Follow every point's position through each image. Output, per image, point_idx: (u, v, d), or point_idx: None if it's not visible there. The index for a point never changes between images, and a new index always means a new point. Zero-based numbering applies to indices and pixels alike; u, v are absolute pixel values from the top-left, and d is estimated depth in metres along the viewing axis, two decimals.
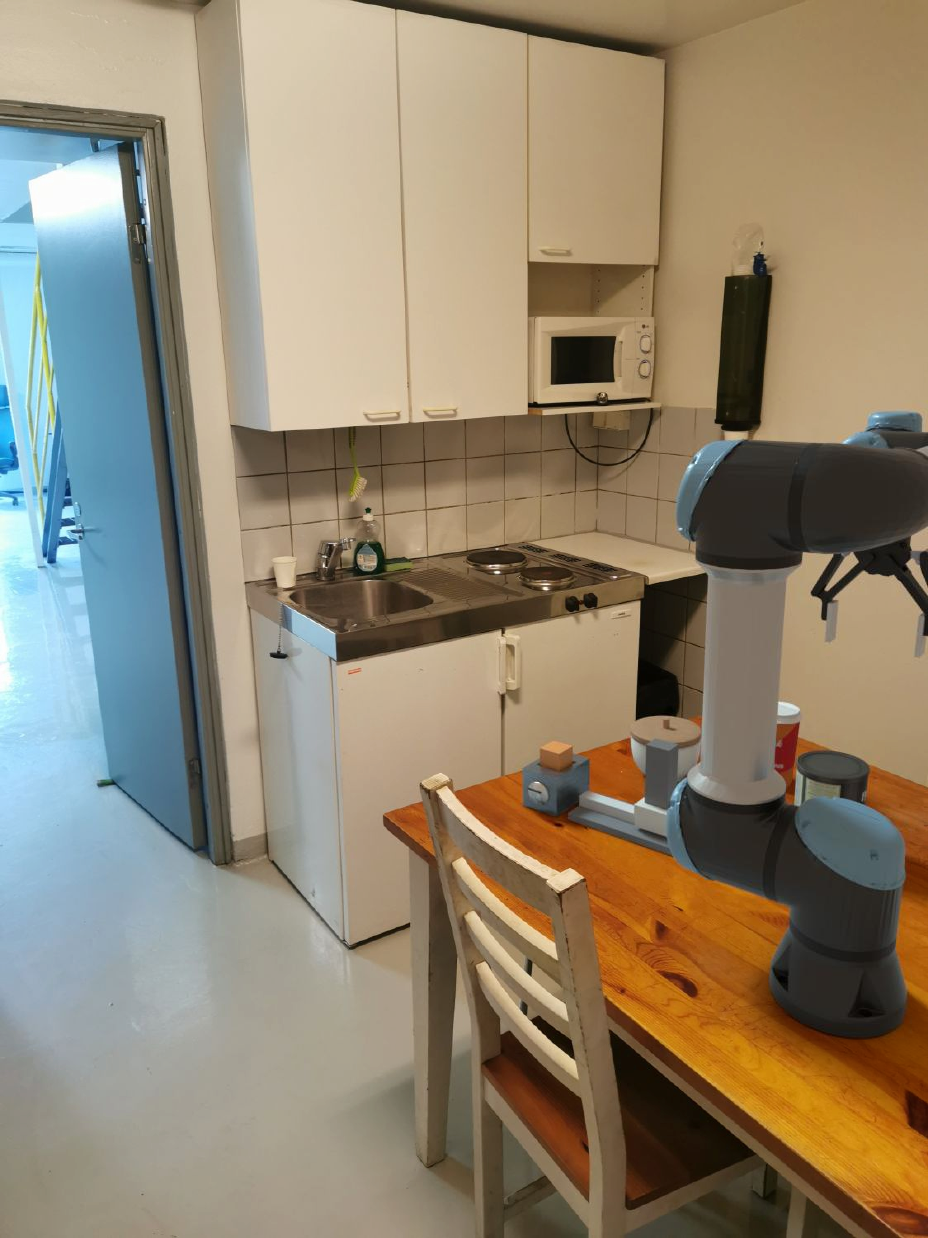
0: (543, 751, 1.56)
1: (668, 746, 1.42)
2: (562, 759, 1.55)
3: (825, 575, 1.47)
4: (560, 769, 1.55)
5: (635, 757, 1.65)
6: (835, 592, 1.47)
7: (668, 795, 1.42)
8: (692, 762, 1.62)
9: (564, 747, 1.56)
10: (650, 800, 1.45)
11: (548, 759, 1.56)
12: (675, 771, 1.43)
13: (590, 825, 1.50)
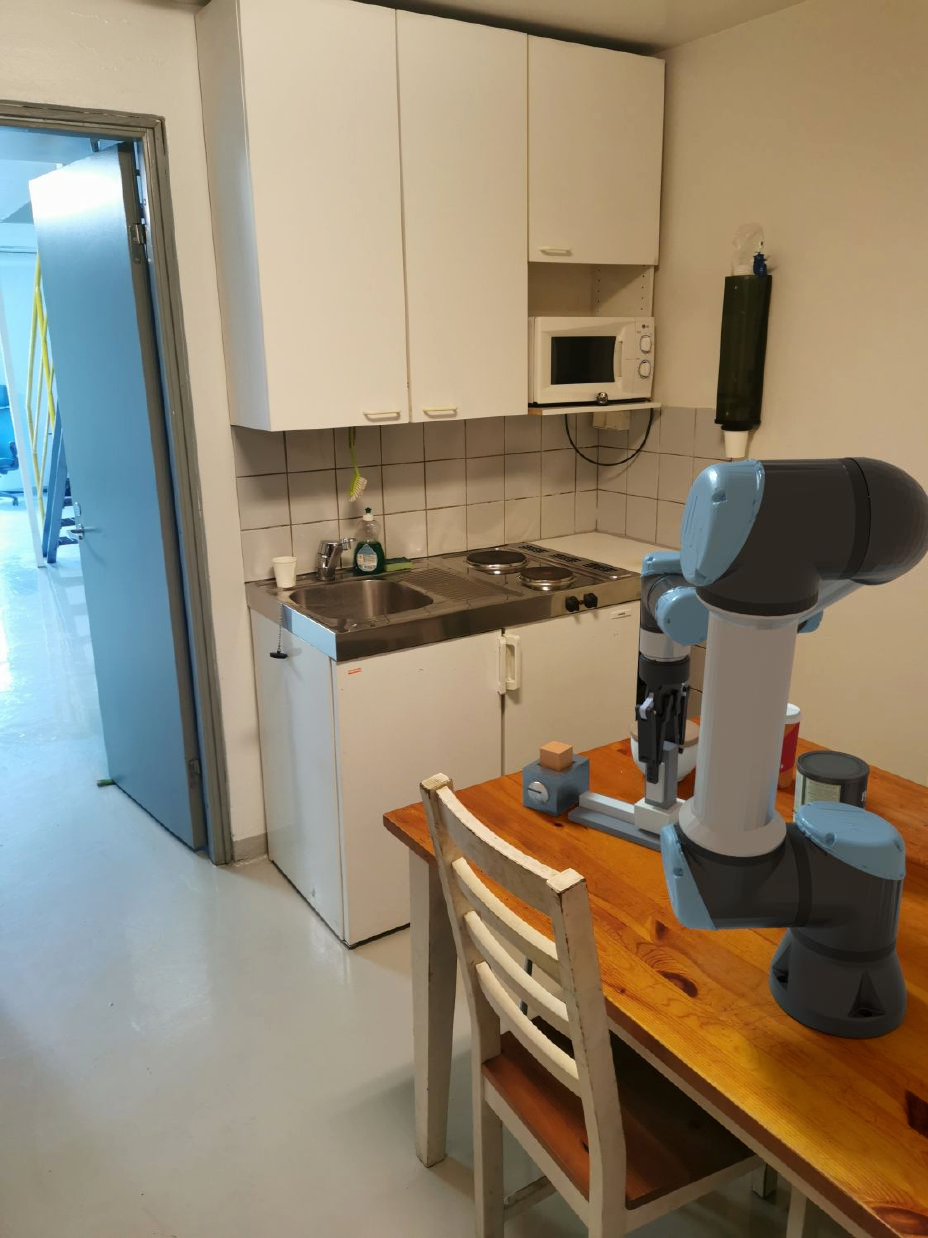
0: (543, 751, 1.56)
1: (668, 746, 1.42)
2: (562, 759, 1.55)
3: None
4: (560, 769, 1.55)
5: (635, 757, 1.65)
6: None
7: (668, 795, 1.42)
8: (692, 762, 1.62)
9: (564, 747, 1.56)
10: (650, 800, 1.45)
11: (548, 759, 1.56)
12: (675, 771, 1.43)
13: (590, 825, 1.50)
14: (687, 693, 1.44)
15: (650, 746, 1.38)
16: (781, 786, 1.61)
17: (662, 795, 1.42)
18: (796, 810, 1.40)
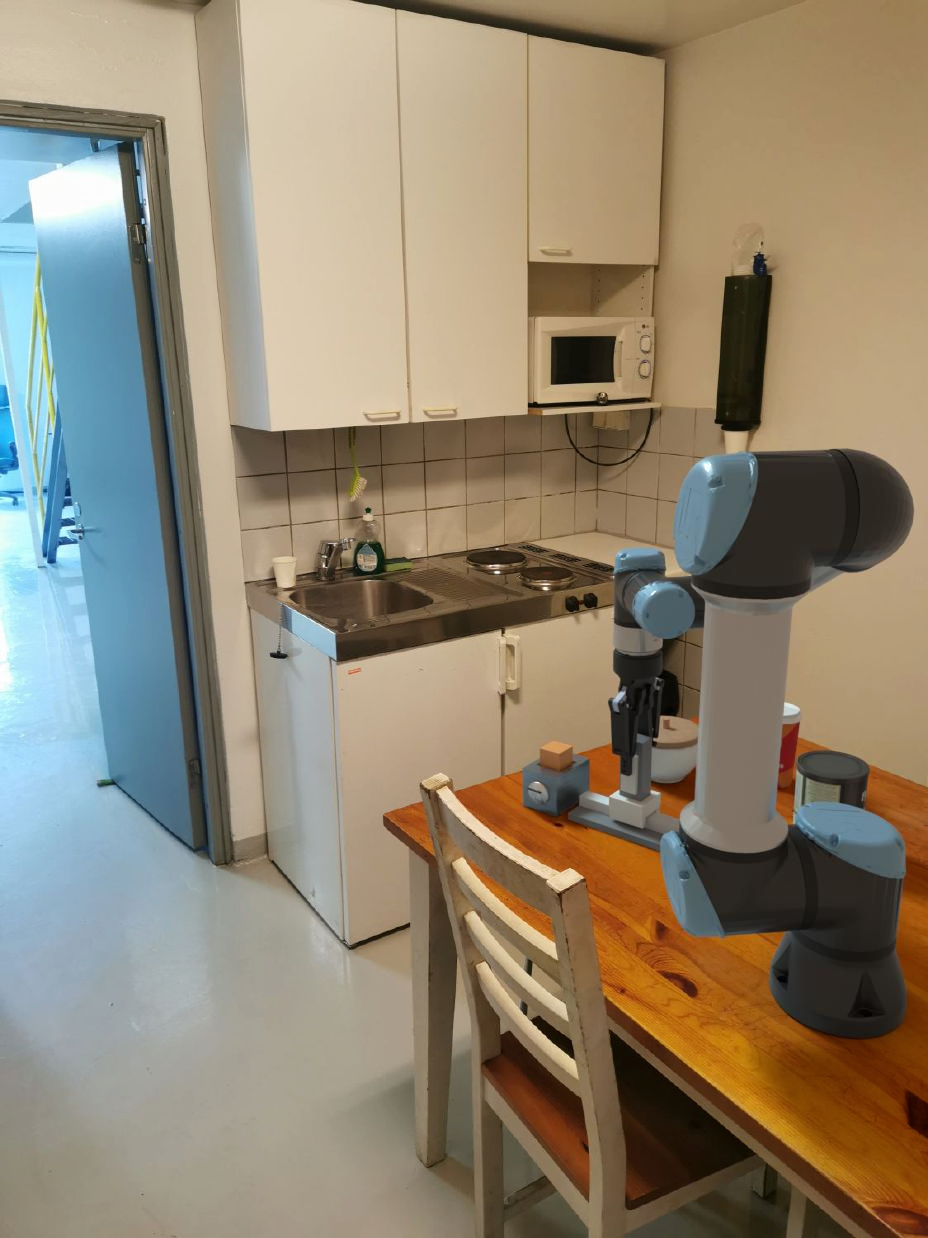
0: (543, 751, 1.56)
1: (642, 739, 1.45)
2: (562, 759, 1.55)
3: None
4: (560, 769, 1.55)
5: None
6: None
7: (641, 787, 1.45)
8: (692, 762, 1.62)
9: (564, 747, 1.56)
10: (624, 792, 1.47)
11: (548, 759, 1.56)
12: (649, 763, 1.46)
13: (590, 825, 1.50)
14: (661, 687, 1.47)
15: (623, 739, 1.40)
16: (781, 786, 1.61)
17: (636, 787, 1.45)
18: (796, 810, 1.40)
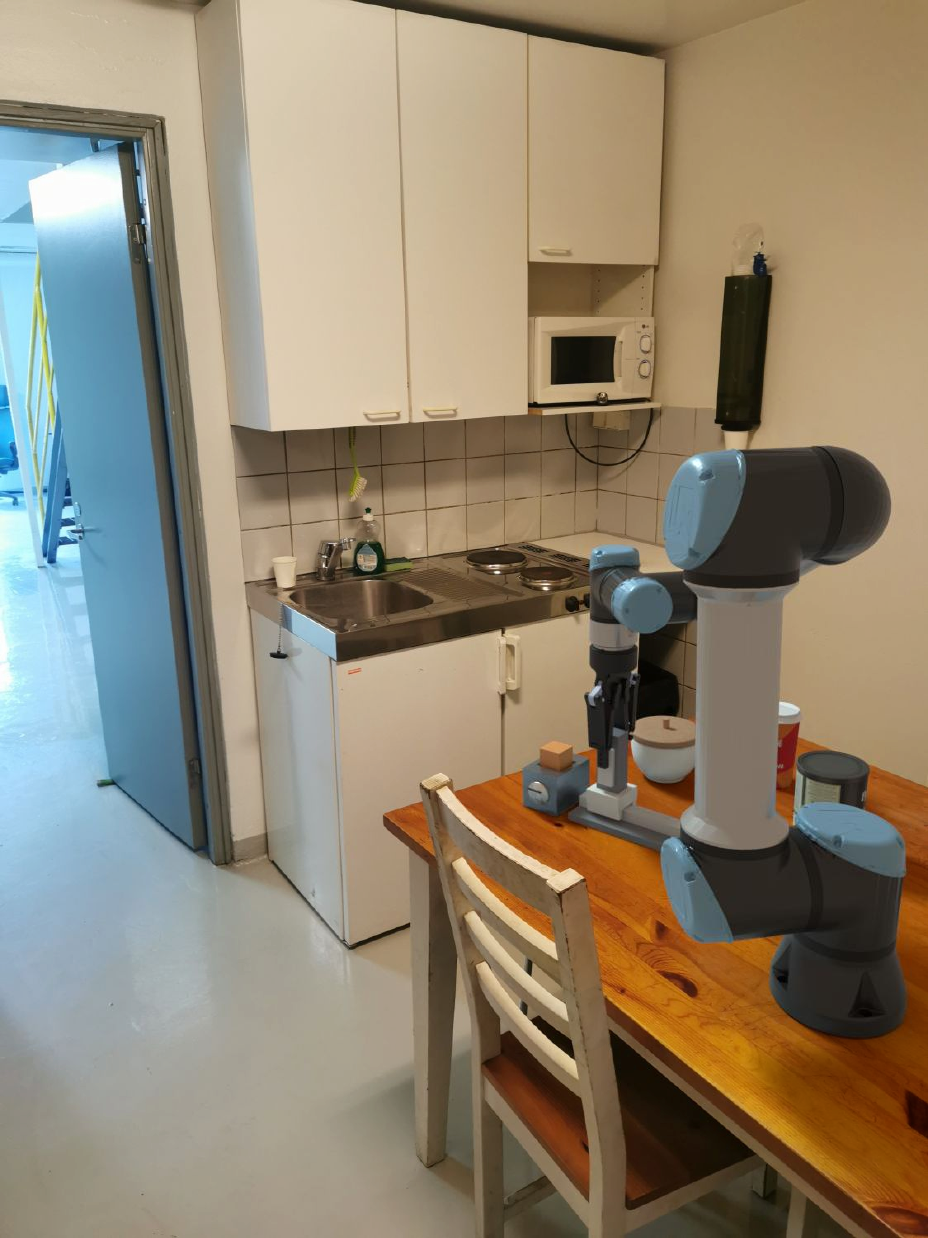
0: (543, 751, 1.56)
1: (618, 733, 1.47)
2: (562, 759, 1.55)
3: None
4: (560, 769, 1.55)
5: (635, 757, 1.65)
6: None
7: (617, 780, 1.48)
8: (692, 762, 1.62)
9: (564, 747, 1.56)
10: (601, 785, 1.50)
11: (548, 759, 1.56)
12: (625, 757, 1.49)
13: (590, 825, 1.50)
14: (637, 682, 1.50)
15: (599, 732, 1.43)
16: (781, 786, 1.61)
17: (612, 780, 1.48)
18: (796, 810, 1.40)
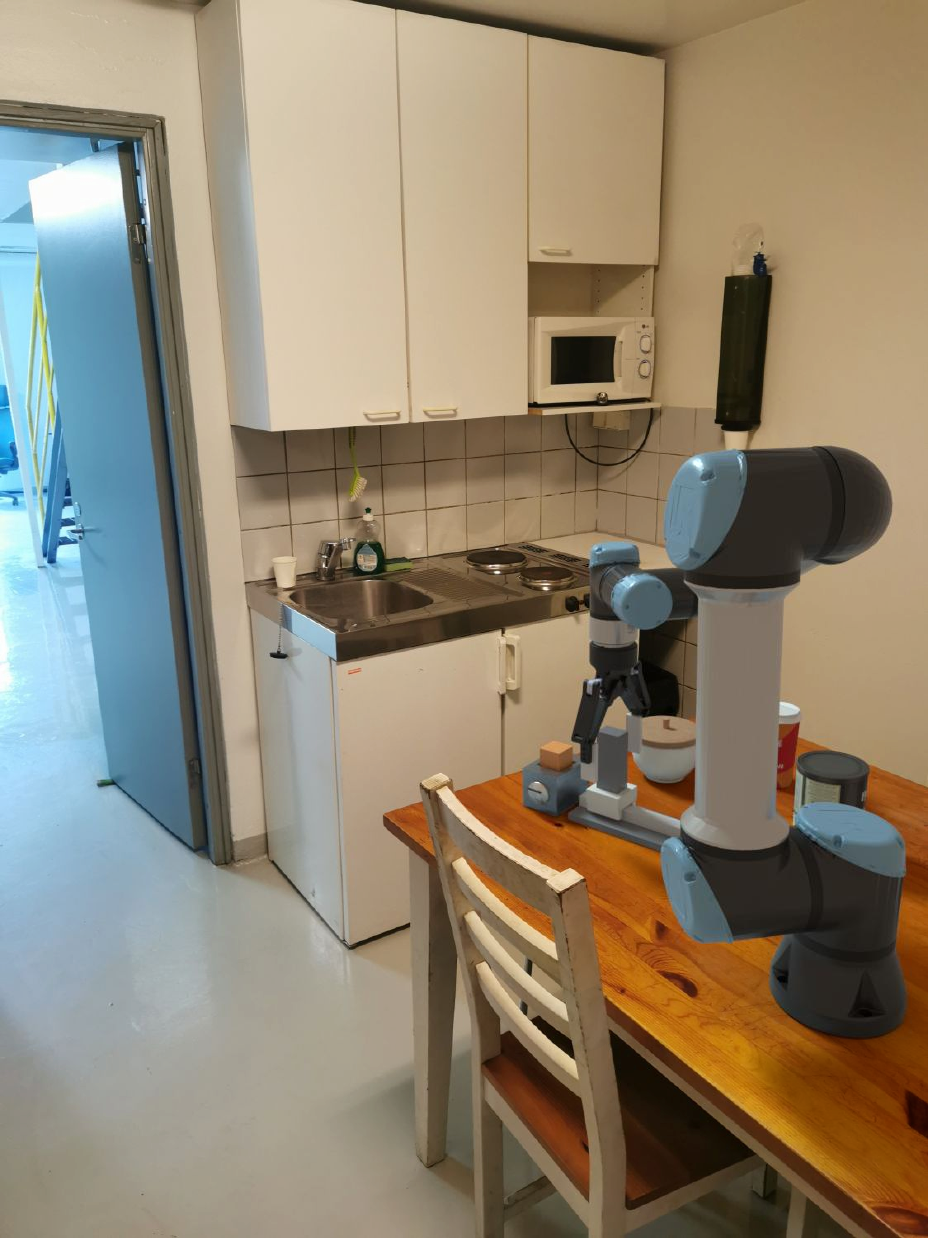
0: (543, 751, 1.56)
1: (618, 732, 1.47)
2: (562, 759, 1.55)
3: None
4: (560, 769, 1.55)
5: (635, 757, 1.65)
6: (626, 704, 1.53)
7: (617, 780, 1.48)
8: (692, 762, 1.62)
9: (564, 747, 1.56)
10: (601, 785, 1.50)
11: (548, 759, 1.56)
12: (625, 757, 1.49)
13: (590, 825, 1.50)
14: (639, 669, 1.49)
15: (587, 722, 1.40)
16: (781, 786, 1.61)
17: (596, 775, 1.43)
18: (796, 810, 1.40)
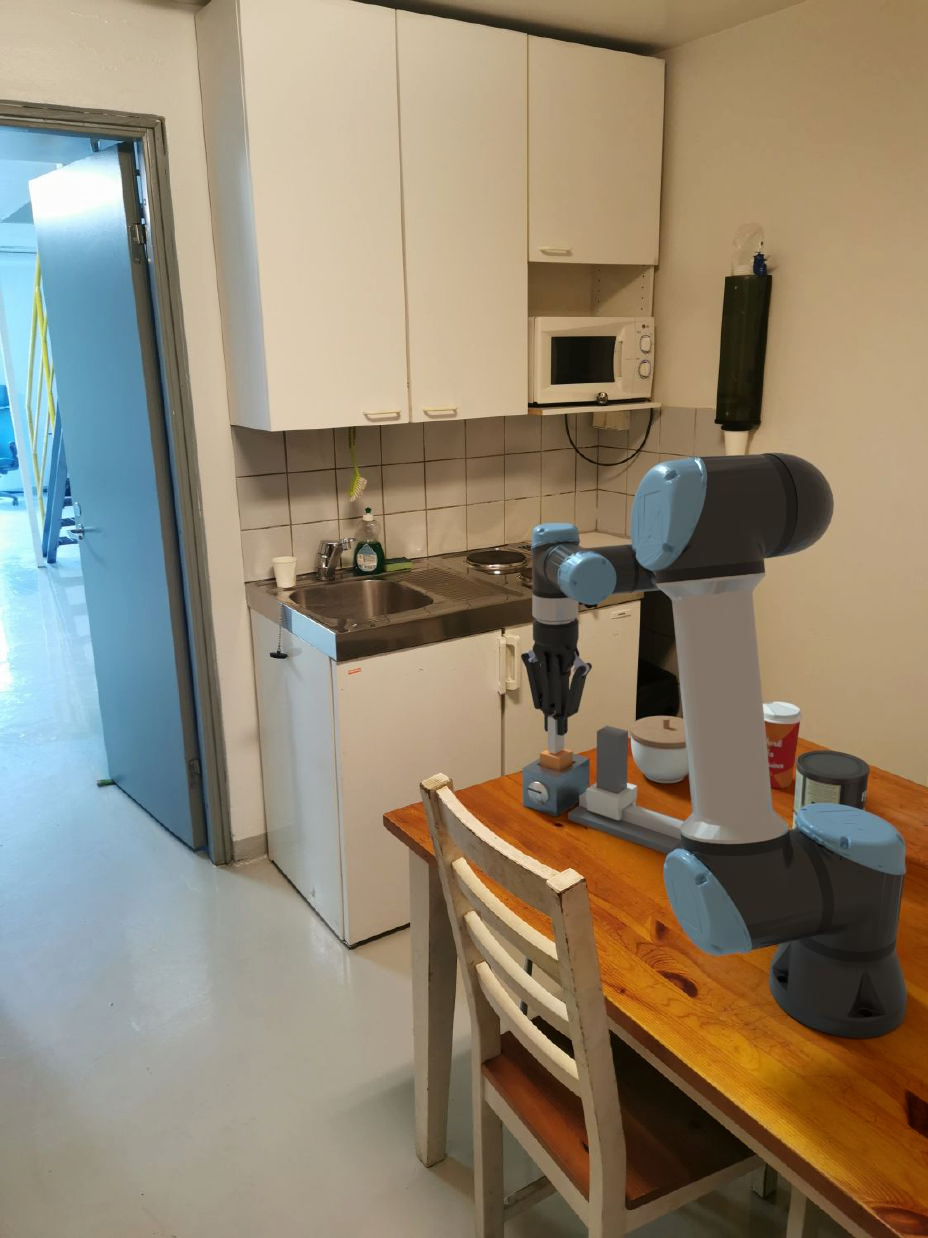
0: (543, 756, 1.56)
1: (618, 732, 1.47)
2: (562, 764, 1.55)
3: (532, 685, 1.55)
4: None
5: (635, 757, 1.65)
6: (547, 701, 1.54)
7: (617, 780, 1.48)
8: None
9: (564, 752, 1.57)
10: (601, 785, 1.50)
11: (548, 764, 1.56)
12: (625, 757, 1.49)
13: (590, 825, 1.50)
14: None
15: (580, 697, 1.52)
16: (781, 786, 1.61)
17: None
18: (796, 810, 1.40)
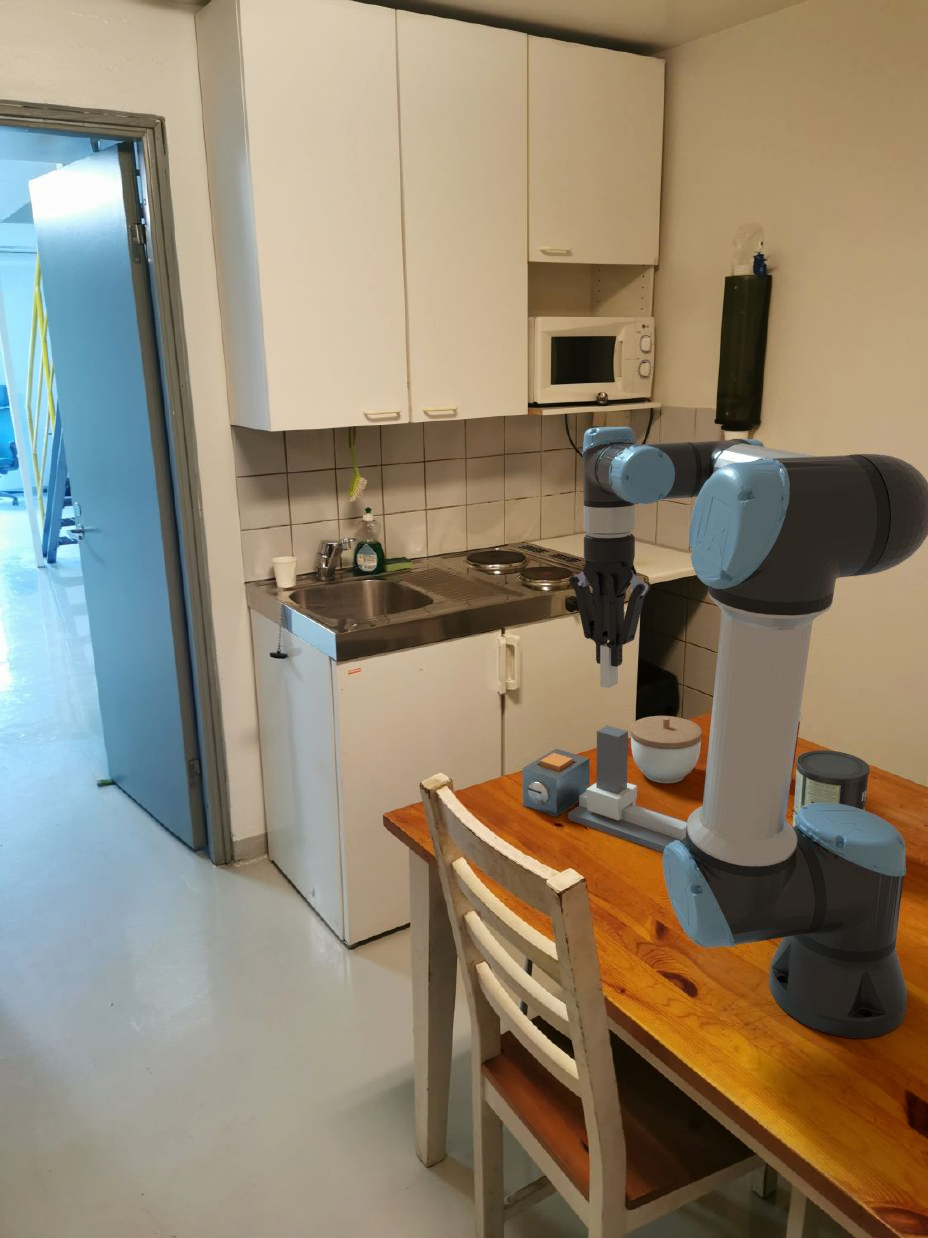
0: (543, 763, 1.57)
1: (618, 732, 1.47)
2: None
3: (582, 612, 1.41)
4: None
5: (635, 757, 1.65)
6: (599, 628, 1.39)
7: (617, 780, 1.48)
8: (692, 762, 1.62)
9: (564, 760, 1.57)
10: (601, 785, 1.50)
11: None
12: (625, 757, 1.49)
13: (590, 825, 1.50)
14: None
15: (637, 622, 1.37)
16: None
17: None
18: (796, 810, 1.40)
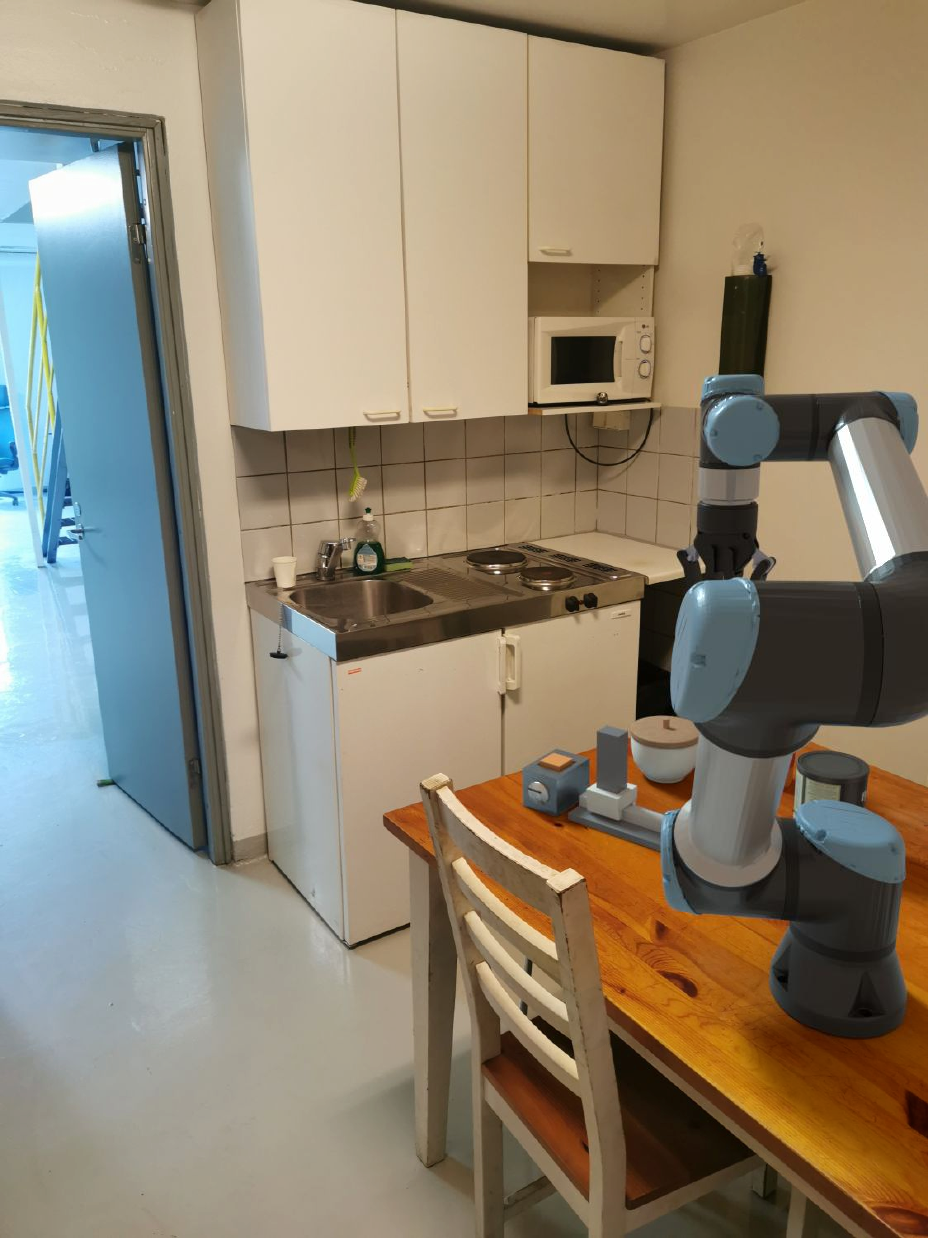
0: (543, 763, 1.57)
1: (618, 732, 1.47)
2: None
3: None
4: None
5: (635, 757, 1.65)
6: None
7: (617, 780, 1.48)
8: (692, 762, 1.62)
9: (564, 760, 1.57)
10: (601, 785, 1.50)
11: None
12: (625, 757, 1.49)
13: (590, 825, 1.50)
14: None
15: None
16: None
17: None
18: (796, 810, 1.40)
